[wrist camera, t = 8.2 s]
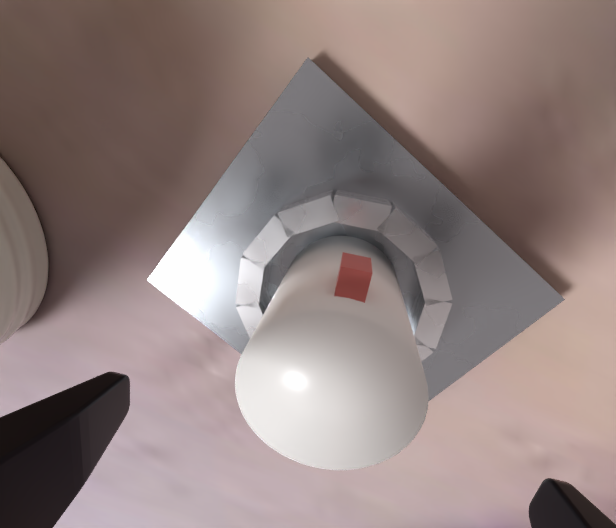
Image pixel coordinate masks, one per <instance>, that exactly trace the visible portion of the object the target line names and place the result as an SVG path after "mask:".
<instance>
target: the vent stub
mask: <svg viewBox="0 0 616 528" xmlns="http://www.w3.org/2000/svg"><path fill="white" fill-rule="evenodd" d="M235 390H236V397H237V401H238V405H239V407H240V410H241V412H242V414H243V416H244V418H245V420H246V421H247V423H248V425H249V426H250V427H251V429H252V430H253V431H254V433H255V434H256V435H257V436H258V437H259V438H260V439H261V440H262V441H263V442H265V443H266V444H267V445H268V446H269V447H271V448H272V449H274V450H275V451H276V452H278V453H279V454H281V455H283V456H285V457H287V458H289V459H291V460H293V461H296V462H298V463H301V464H304V465H307V466H311V467H315V468H320V469H328V470H353V469H360V468H365V467H369V466H372V465H375V464H378V463H381V462H383V461H385V460H387V459H389V458H391V457H393V456H394V455H396V454H398V453H399V452H400V451H401V450H403V449H404V448H405V447H406V446H407V445H408V444H409V443H410V442H411V441H412V440H413V439H414V438H415V436H416V435H417V433H418V432H419V430H420V428H421V426H422V424H423V422H424V420H425V417H426V413H427V409H428V400H429V396H428V385H427V381H426V377H425V373H424V370H423V366H422V363H421V359H420V356H419V352H418V349H417V345H416V342H415V338H414V335H413V331H412V328H411V324H410V321H409V317H408V314H407V310H406V307H405V303H404V300H403V296H402V293H401V290H400V286H399V283H398V279H397V276H396V273H395V270H394V268H393V266H392V264H391V262H390V261H389V260H388V258H387V257H386V256H385V255H384V254H383V253H382V252H381V251H380V250H379V249H378V248H377V247H375V246H374V245H372V244H370V243H369V242H367V241H364V240H362V239H359V238H355V237H350V236H330V237H326V238H322V239H319V240H317V241H315V242H313V243H311V244H309V245H308V246H306V247H305V248H304V249H303V250H301V251H300V252H299V253H298V255H297V256H296V257H295V258H294V260H293V262H292V263H291V265H290V267H289V269H288V270H287V272H286V274H285V276H284V278H283V280H282V281H281V283H280V285H279V287H278V289H277V291H276V292H275V294H274V296H273V298H272V300H271V302H270V303H269V305H268V307H267V309H266V311H265V313H264V314H263V316H262V318H261V320H260V322H259V323H258V325H257V327H256V329H255V331H254V333H253V334H252V336H251V338H250V340H249V342H248V344H247V345H246V347H245V349H244V351H243V353H242V355H241V357H240V360H239V362H238V365H237V370H236V375H235Z"/></svg>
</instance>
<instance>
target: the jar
mask: <svg viewBox="0 0 616 528" xmlns="http://www.w3.org/2000/svg"><path fill="white" fill-rule="evenodd" d="M47 281H48V253H47V247H46V242H45V237H44V233H43V230H42V227H41V224H40V221H39V218H38V216H37V213H36V211H35V209H34V207H33V205H32V203H31V201H30V199H29V197H28V195H27V193H26V192H25V190H24V188H23V186H22V185H21V183H20V182H19V180H18V179H17V177H16V176H15V175H14V173H13V172H12V171H11V169H10V168H9V167H8V166H7V164H6V163H5V162H4V161H3V160H2V158H1V157H0V345H1V344H2V343H3V342H5V341H6V340H7V339H9V338H10V337H11V336H12V335H13V334H14V333H15V331H16V330H17V329H19V328H20V327H21V326H23V325H24V324H25V323H26V322H28V321H29V320H30V319H31V317H32V316H33V315H34V314H35V312H36V311H37V309H38V308H39V306H40V304H41V302H42V299H43V297H44V294H45V290H46V286H47Z"/></svg>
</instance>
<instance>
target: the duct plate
mask: <svg viewBox="0 0 616 528" xmlns="http://www.w3.org/2000/svg"><path fill="white" fill-rule="evenodd" d="M330 236H350V237H355V238H359V239H362V240H364V241H367V242H369V243H370V244H372V245H374V246H375V247H377V248H378V249H379V250H380V251H381V252H382V253H383V254H384V255H385V256H386V257H387V258H388V260H389V261H390V262H391V264H392V266H393V268H394V270H395V273H396V276H397V279H398V283H399V286H400V290H401V293H402V296H403V300H404V303H405V307H406V310H407V314H408V317H409V321H410V324H411V328H412V331H413V335H414V338H415V342H416V345H417V349H418V352H419V356H420V359H421V363H422V366H423V370H424V373H425V377H426V381H427V385H428V396H429V400H431V399H432V398H434V397H435V396H436V395H438V394H439V393H440V392H442V391H443V390H444V389H446V388H447V387H448V386H450V385H451V384H452V383H454V382H455V381H456V380H458V379H459V378H460V377H462V376H463V375H464V374H466V373H467V372H468V371H470V370H471V369H472V368H474V367H475V366H476V365H478V364H479V363H480V362H482V361H483V360H484V359H486V358H487V357H488V356H490V355H491V354H493V353H494V352H495V351H497V350H498V349H499V348H501V347H502V346H503V345H505V344H506V343H507V342H509V341H510V340H511V339H513V338H514V337H515V336H517V335H518V334H519V333H521V332H522V331H523V330H525V329H526V328H527V327H529V326H530V325H531V324H533V323H534V322H535V321H537V320H538V319H539V318H541V317H542V316H543V315H545V314H546V313H547V312H549V311H550V310H551V309H553V308H554V307H556V306H557V305H558V304H560V303H561V302H562V301H564V300H565V299H564V298H563V297H562V296H561V295H560V294H559V293H558V292H557V291H556V290H554V289H553V288H552V287H551V286H550V285H549V284H548V283H547V282H546V281H545V280H544V279H543V278H542V277H541V276H540V275H539V274H538V273H536V272H535V271H534V270H533V269H532V268H531V267H530V266H529V265H528V264H527V263H526V262H525V261H524V260H523V259H522V258H521V257H519V256H518V255H517V254H516V253H515V252H514V251H513V250H512V249H511V248H510V247H509V246H508V245H507V244H506V243H505V242H504V241H502V240H501V239H500V238H499V237H498V236H497V235H496V234H495V233H494V232H493V231H492V230H491V229H490V228H489V227H488V226H487V225H486V224H484V223H483V222H482V221H481V220H480V219H479V218H478V217H477V216H476V215H475V214H474V213H473V212H472V211H471V210H470V209H469V208H467V207H466V206H465V205H464V204H463V203H462V202H461V201H460V200H459V199H458V198H457V197H456V196H455V195H454V194H453V193H452V192H450V191H449V190H448V189H447V188H446V187H445V186H444V185H443V184H442V183H441V182H440V181H439V180H438V179H437V178H436V177H435V176H434V175H432V174H431V173H430V172H429V171H428V170H427V169H426V168H425V167H424V166H423V165H422V164H421V163H420V162H419V161H418V160H417V159H415V158H414V157H413V156H412V155H411V154H410V153H409V152H408V151H407V150H406V149H405V148H404V147H403V146H402V145H401V144H400V143H398V142H397V141H396V140H395V139H394V138H393V137H392V136H391V135H390V134H389V133H388V132H387V131H386V130H385V129H384V128H383V127H382V126H380V125H379V124H378V123H377V122H376V121H375V120H374V119H373V118H372V117H371V116H370V115H369V114H368V113H367V112H366V111H365V110H363V109H362V108H361V107H360V106H359V105H358V104H357V103H356V102H355V101H354V100H353V99H352V98H351V97H350V96H349V95H348V94H346V93H345V92H344V91H343V90H342V89H341V88H340V87H339V86H338V85H337V84H336V83H335V82H334V81H333V80H332V79H331V78H329V77H328V76H327V75H326V74H325V73H324V72H323V71H322V70H321V69H320V68H319V67H318V66H317V65H316V64H315V63H314V62H313V61H311V60H310V59H309V58H307V59H306V61H305V62H304V63H303V65H302V66H301V68H300V69H299V70H298V72H297V73H296V74H295V76H294V77H293V79H292V80H291V81H290V83H289V84H288V86H287V87H286V88H285V90H284V91H283V92H282V94H281V95H280V97H279V98H278V99H277V101H276V102H275V104H274V105H273V106H272V108H271V109H270V110H269V112H268V113H267V115H266V116H265V117H264V119H263V120H262V122H261V123H260V124H259V126H258V127H257V128H256V130H255V131H254V133H253V134H252V135H251V137H250V138H249V140H248V141H247V142H246V144H245V145H244V147H243V148H242V149H241V151H240V152H239V153H238V155H237V156H236V158H235V159H234V160H233V162H232V163H231V165H230V166H229V167H228V169H227V170H226V171H225V173H224V174H223V176H222V177H221V178H220V180H219V181H218V183H217V184H216V185H215V187H214V188H213V189H212V191H211V192H210V194H209V195H208V196H207V198H206V199H205V201H204V202H203V203H202V205H201V206H200V207H199V209H198V210H197V212H196V213H195V214H194V216H193V217H192V219H191V220H190V221H189V223H188V224H187V225H186V227H185V228H184V230H183V231H182V232H181V234H180V235H179V237H178V238H177V239H176V241H175V242H174V244H173V245H172V246H171V248H170V249H169V250H168V252H167V253H166V255H165V256H164V257H163V259H162V260H161V262H160V263H159V264H158V266H157V267H156V268H155V270H154V271H153V273H152V274H151V275H150V277H149V278H148V281H149V282H150V283H151V284H153V285H154V286H155V287H157V288H158V289H159V290H160V291H162V292H163V293H164V294H165V295H167V296H168V297H169V298H171V299H172V300H173V301H174V302H176V303H177V304H178V305H179V306H181V307H182V308H183V309H185V310H186V311H187V312H188V313H190V314H191V315H192V316H193V317H195V318H196V319H197V320H199V321H200V322H201V323H202V324H204V325H205V326H206V327H207V328H209V329H210V330H211V331H213V332H214V333H215V334H216V335H218V336H219V337H220V338H221V339H223V340H224V341H225V342H227V343H228V344H229V345H230V346H232V347H233V348H234V349H235V350H237V351H238V352H239V353H241V354H242V353H243V351H244V349H245V347H246V345H247V344H248V342H249V340H250V338H251V336H252V334H253V333H254V331H255V329H256V327H257V325H258V323H259V322H260V320H261V318H262V316H263V314H264V313H265V311H266V309H267V307H268V305H269V303H270V302H271V300H272V298H273V296H274V294H275V292H276V291H277V289H278V287H279V285H280V283H281V281H282V280H283V278H284V276H285V274H286V272H287V270H288V269H289V267H290V265H291V263H292V262H293V260H294V258H295V257H296V256H297V255H298V253H299V252H300V251H301V250H303V249H304V248H305V247H306V246H308V245H309V244H311V243H313V242H315V241H317V240H319V239H322V238H326V237H330ZM429 400H428V401H429Z"/></svg>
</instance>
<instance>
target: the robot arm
mask: <svg viewBox="0 0 616 528" xmlns="http://www.w3.org/2000/svg"><path fill="white" fill-rule="evenodd" d="M129 406H130V380H129V377H128V376H127V375H124V374H120V373H116V372H107V373H104V374H102V375H100V376H97V377H95V378H93V379H90V380H88V381H85V382H83V383H81V384H78V385H76V386H74V387H71V388H69V389H67V390H64V391H62V392H59V393H57V394H55V395H52V396H50V397H48V398H45V399H43V400H40V401H38V402H36V403H33V404H31V405H29V406H26V407H24V408H22V409H19V410H17V411H14V412H12V413H10V414H7V415H5V416H3V417H0V528H53V527H54V525H55V524H56V522H57V521H58V520H59V518H60V517H61V516H62V514H63V513H64V512H65V510H66V509H67V507H68V506H69V505H70V503H71V502H72V501H73V499H74V498H75V497H76V495H77V494H78V492H79V491H80V490H81V488H82V487H83V485H84V484H85V482H86V481H87V479H88V478H89V476H90V474H91V473H92V471H93V470H94V468H95V466H96V465H97V463H98V461H99V460H100V458H101V456H102V455H103V453H104V451H105V450H106V448H107V446H108V445H109V443H110V441H111V440H112V438H113V436H114V435H115V433H116V431H117V430H118V428H119V427H120V425H121V423H122V422H123V420H124V418H125V417H126V415H127V413H128V410H129ZM529 518H530V523H531V527H532V528H616V525H615V524H614V523H613V522H612V521H611V520H610V519H609V518H608V517H607V516H606V515H604V514H603V513H602V512H601V511H600V510H599V509H598V508H597V507H596V506H594V505H593V504H592V503H591V502H590V501H589V500H588V499H587V498H586V497H585V496H583V495H582V494H581V493H580V492H579V491H578V490H577V489H576V488H575V487H573V486H572V485H571V484H569V483H567V482H564V481H560V480H555V479H551V478H547V479H545V480H544V481H543V482H542V484H541V485H540V487H539V489H538V491H537V492H536V494H535V496H534V497H533V499H532V501H531V503H530V505H529Z"/></svg>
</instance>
